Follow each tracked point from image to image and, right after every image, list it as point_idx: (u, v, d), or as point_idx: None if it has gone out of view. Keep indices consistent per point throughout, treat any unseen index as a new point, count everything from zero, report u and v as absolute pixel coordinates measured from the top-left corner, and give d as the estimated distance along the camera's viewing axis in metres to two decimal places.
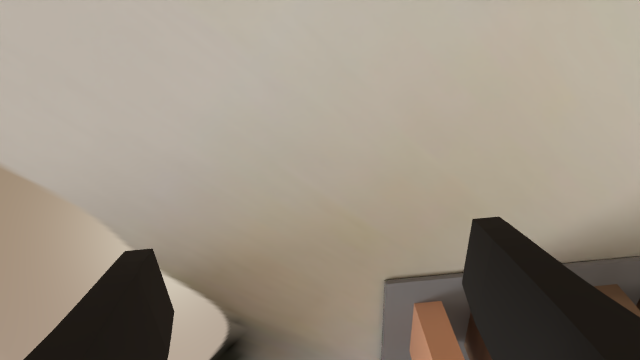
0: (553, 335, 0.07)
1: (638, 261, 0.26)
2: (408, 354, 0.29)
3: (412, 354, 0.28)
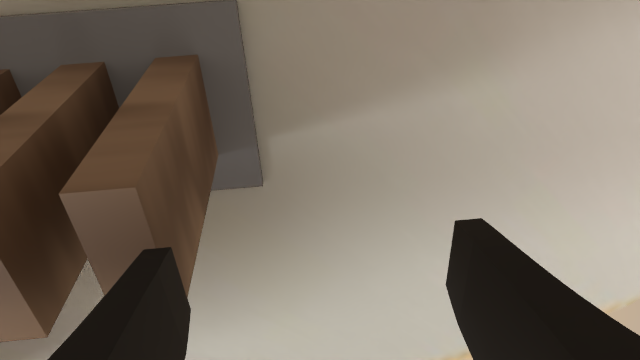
0: (529, 338, 0.07)
1: (108, 12, 0.16)
2: None
3: None
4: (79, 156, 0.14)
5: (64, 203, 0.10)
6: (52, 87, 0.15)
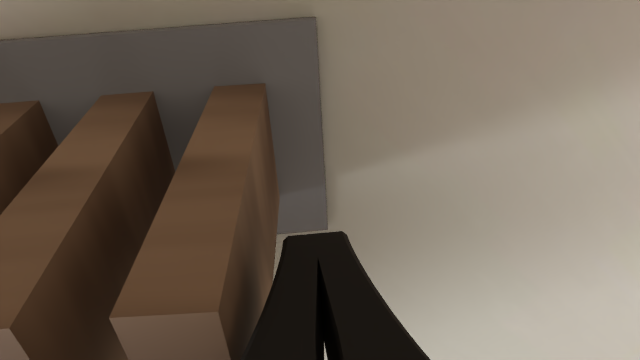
0: (340, 357, 0.07)
1: (161, 33, 0.13)
2: None
3: None
4: (132, 215, 0.11)
5: (115, 328, 0.07)
6: (97, 128, 0.12)
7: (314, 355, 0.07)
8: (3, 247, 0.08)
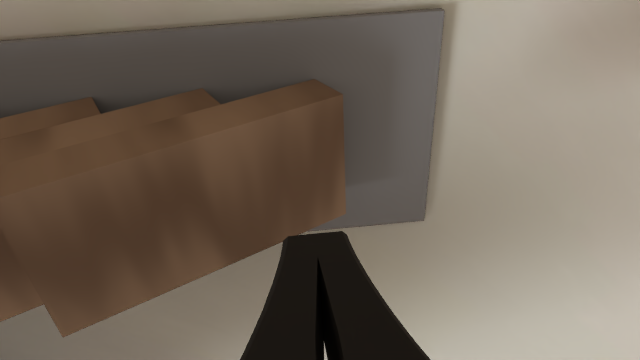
0: (339, 357, 0.07)
1: (294, 24, 0.13)
2: None
3: None
4: None
5: None
6: (128, 115, 0.13)
7: (314, 355, 0.07)
8: None
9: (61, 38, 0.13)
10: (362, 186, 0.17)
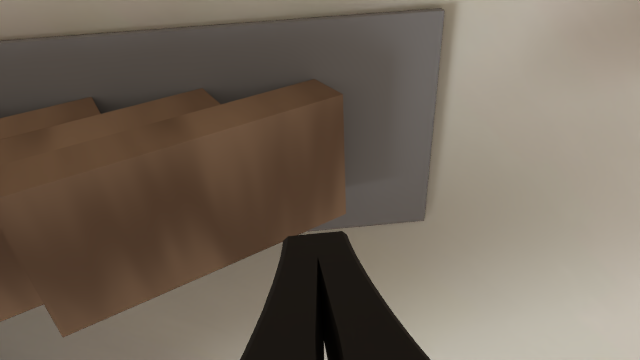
0: (339, 357, 0.07)
1: (294, 24, 0.13)
2: None
3: None
4: None
5: None
6: (128, 115, 0.13)
7: (314, 355, 0.07)
8: None
9: (61, 38, 0.13)
10: (362, 186, 0.17)
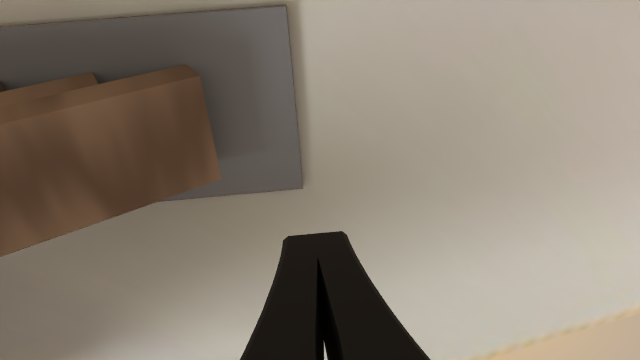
0: (340, 357, 0.07)
1: (161, 18, 0.16)
2: None
3: None
4: None
5: None
6: (21, 93, 0.16)
7: (314, 355, 0.07)
8: None
9: None
10: (242, 157, 0.20)
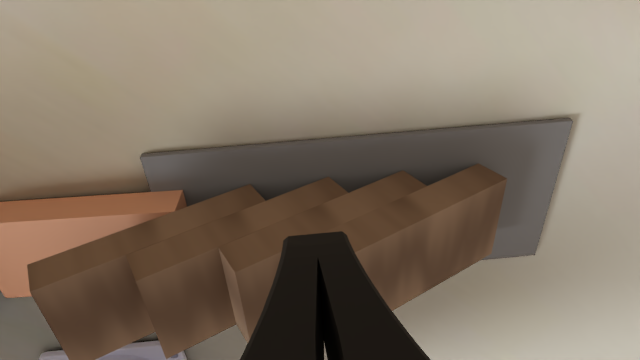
0: (340, 358, 0.07)
1: (472, 130, 0.20)
2: None
3: None
4: None
5: None
6: (370, 195, 0.19)
7: (314, 355, 0.07)
8: (270, 236, 0.17)
9: (319, 141, 0.20)
10: None
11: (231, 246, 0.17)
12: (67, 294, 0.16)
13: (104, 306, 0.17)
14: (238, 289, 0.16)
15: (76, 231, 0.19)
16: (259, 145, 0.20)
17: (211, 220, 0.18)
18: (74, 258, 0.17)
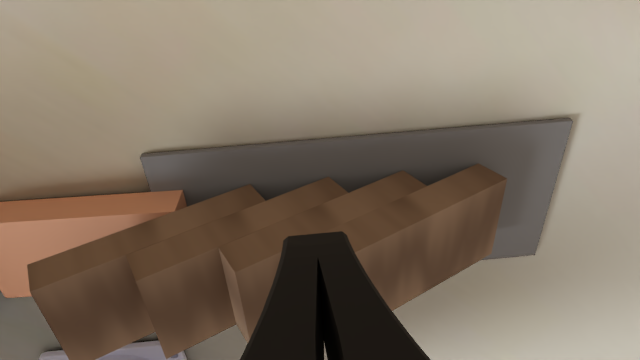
0: (340, 358, 0.07)
1: (472, 130, 0.20)
2: None
3: None
4: None
5: None
6: (370, 195, 0.19)
7: (314, 355, 0.07)
8: (270, 236, 0.17)
9: (319, 141, 0.20)
10: None
11: (231, 246, 0.17)
12: (67, 294, 0.16)
13: (104, 306, 0.17)
14: (238, 289, 0.16)
15: (76, 231, 0.19)
16: (259, 145, 0.20)
17: (211, 220, 0.18)
18: (74, 258, 0.17)
